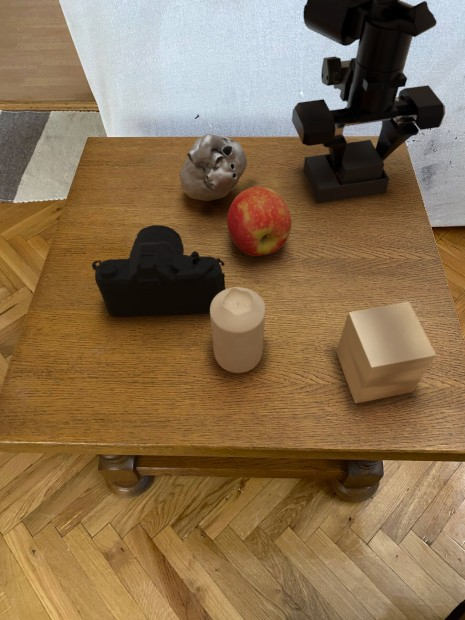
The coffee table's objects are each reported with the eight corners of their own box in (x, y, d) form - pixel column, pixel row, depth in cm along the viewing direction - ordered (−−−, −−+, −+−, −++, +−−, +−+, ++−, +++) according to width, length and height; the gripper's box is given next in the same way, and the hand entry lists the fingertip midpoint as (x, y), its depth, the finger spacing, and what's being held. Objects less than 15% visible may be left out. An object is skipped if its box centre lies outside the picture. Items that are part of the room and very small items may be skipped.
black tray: (367, 161, 74) (371, 147, 72) (385, 192, 70) (389, 179, 68) (302, 171, 73) (304, 157, 71) (317, 203, 69) (319, 189, 67)
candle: (220, 379, 53) (217, 329, 45) (208, 337, 56) (203, 284, 48) (268, 366, 54) (273, 316, 46) (254, 326, 57) (256, 272, 49)
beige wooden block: (389, 342, 56) (409, 301, 49) (412, 392, 52) (436, 355, 45) (335, 352, 55) (348, 312, 48) (355, 403, 51) (371, 367, 45)
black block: (366, 153, 72) (370, 139, 70) (380, 178, 68) (384, 164, 66) (330, 159, 71) (332, 145, 69) (342, 184, 68) (345, 170, 66)
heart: (265, 185, 71) (254, 107, 61) (238, 227, 66) (221, 149, 57) (205, 176, 75) (186, 102, 66) (175, 216, 70) (150, 141, 61)
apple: (236, 271, 62) (235, 226, 55) (221, 225, 67) (219, 179, 60) (295, 259, 63) (302, 214, 56) (277, 215, 68) (281, 168, 61)
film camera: (225, 256, 63) (223, 204, 56) (226, 317, 58) (223, 269, 50) (109, 259, 63) (92, 208, 56) (99, 320, 58) (78, 273, 51)
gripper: (426, 18, 62) (395, 126, 75) (285, 35, 60) (278, 143, 73) (467, 63, 56) (425, 172, 69) (311, 83, 54) (298, 191, 67)
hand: (355, 168), depth 70 cm, fingers closed on black block, 6 cm apart
